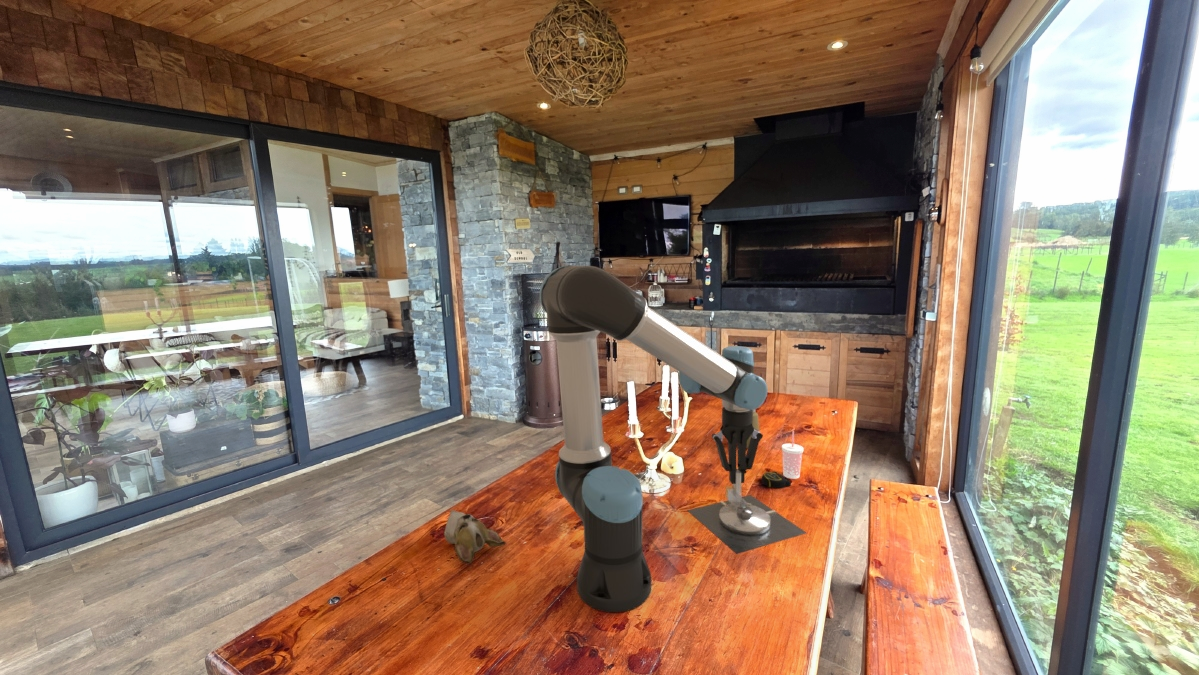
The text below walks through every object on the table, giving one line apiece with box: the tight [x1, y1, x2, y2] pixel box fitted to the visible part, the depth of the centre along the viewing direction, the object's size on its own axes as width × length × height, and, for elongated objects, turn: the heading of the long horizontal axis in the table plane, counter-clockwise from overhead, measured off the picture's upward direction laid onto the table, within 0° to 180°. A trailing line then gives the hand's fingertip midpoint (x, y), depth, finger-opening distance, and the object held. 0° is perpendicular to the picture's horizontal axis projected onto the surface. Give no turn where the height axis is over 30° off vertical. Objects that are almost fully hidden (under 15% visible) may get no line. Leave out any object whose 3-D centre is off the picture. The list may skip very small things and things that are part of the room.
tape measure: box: [761, 470, 792, 489], centre depth 136 cm, size 7×7×4 cm
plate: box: [687, 494, 807, 555], centre depth 117 cm, size 20×20×2 cm
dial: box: [719, 485, 770, 535], centre depth 118 cm, size 16×12×4 cm
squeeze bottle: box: [746, 409, 760, 450], centre depth 165 cm, size 8×8×18 cm
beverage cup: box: [781, 430, 804, 480], centre depth 143 cm, size 6×6×14 cm
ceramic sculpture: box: [443, 509, 507, 565], centre depth 110 cm, size 11×9×15 cm
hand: (736, 494), depth 124 cm, fingers closed
